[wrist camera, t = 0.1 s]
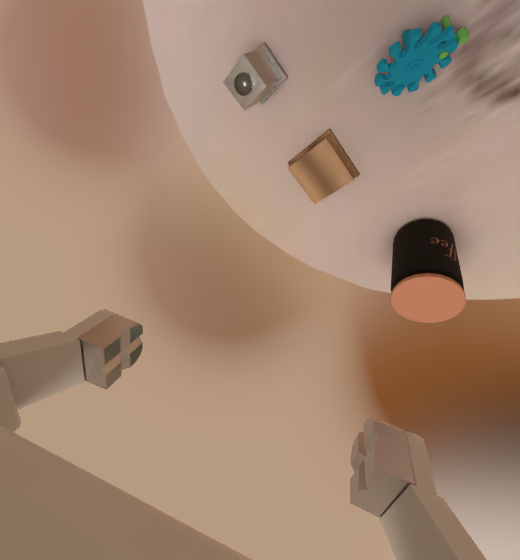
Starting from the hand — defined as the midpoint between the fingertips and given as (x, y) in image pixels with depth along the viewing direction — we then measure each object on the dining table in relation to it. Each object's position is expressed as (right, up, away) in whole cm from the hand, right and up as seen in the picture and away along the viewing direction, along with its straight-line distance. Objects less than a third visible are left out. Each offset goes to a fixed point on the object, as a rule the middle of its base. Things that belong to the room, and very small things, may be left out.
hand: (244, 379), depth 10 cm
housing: (+1, +39, +39) cm, 55 cm away
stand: (+13, +26, +46) cm, 54 cm away
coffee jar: (+34, +12, +49) cm, 60 cm away
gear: (+23, +36, +31) cm, 53 cm away
